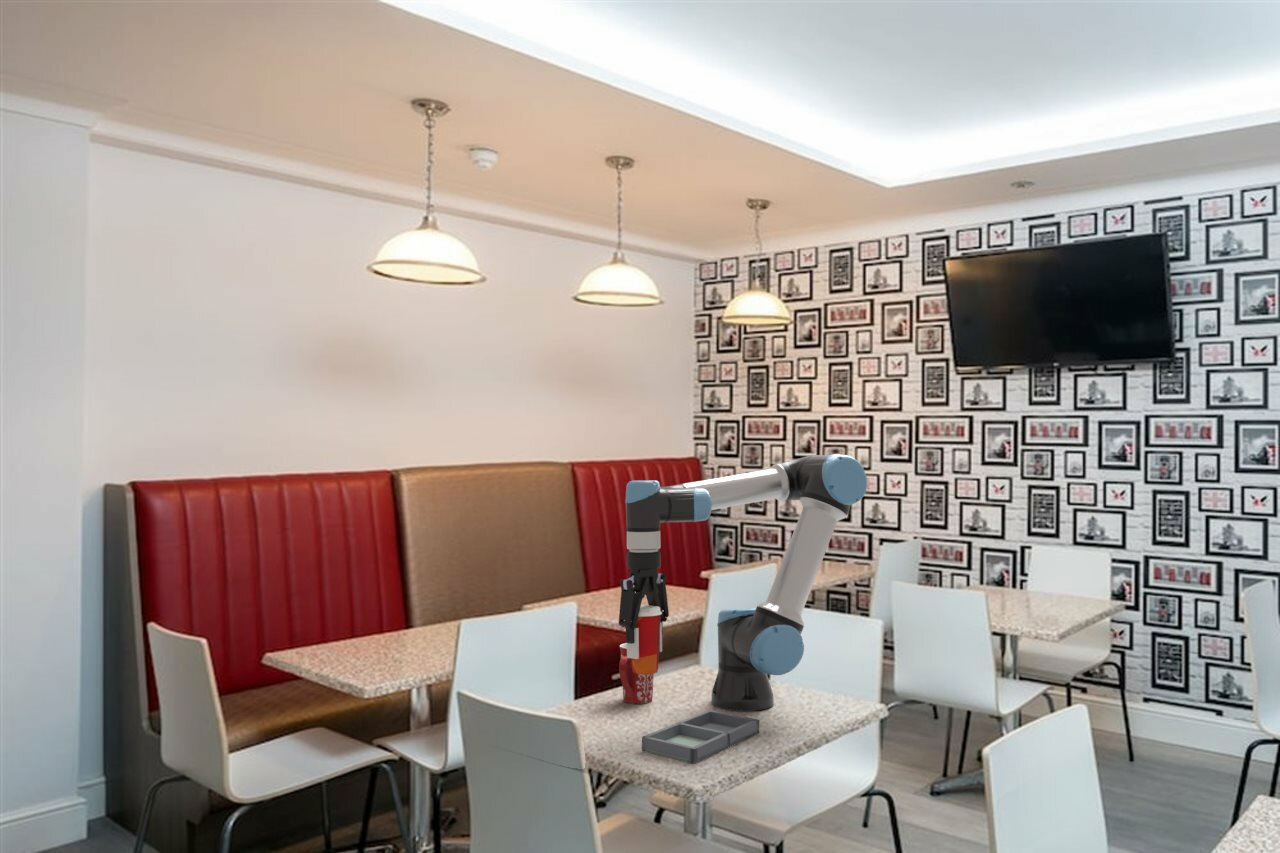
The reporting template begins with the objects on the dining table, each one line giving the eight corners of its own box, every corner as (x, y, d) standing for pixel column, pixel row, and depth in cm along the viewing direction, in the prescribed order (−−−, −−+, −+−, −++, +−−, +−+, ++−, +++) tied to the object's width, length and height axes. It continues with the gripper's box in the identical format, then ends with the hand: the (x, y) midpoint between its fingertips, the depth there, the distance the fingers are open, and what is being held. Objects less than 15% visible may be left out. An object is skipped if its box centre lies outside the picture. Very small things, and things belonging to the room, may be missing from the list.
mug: (631, 693, 226) (631, 640, 227) (662, 698, 221) (662, 643, 222) (604, 705, 215) (604, 649, 216) (636, 710, 210) (636, 653, 211)
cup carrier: (709, 722, 200) (709, 709, 201) (759, 732, 192) (759, 719, 193) (641, 750, 181) (641, 736, 181) (694, 763, 173) (694, 749, 173)
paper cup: (639, 666, 200) (638, 603, 200) (668, 669, 196) (668, 606, 196) (620, 673, 193) (620, 608, 193) (651, 677, 189) (650, 611, 190)
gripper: (657, 545, 206) (659, 644, 205) (600, 553, 189) (601, 661, 189) (684, 547, 201) (685, 648, 200) (627, 555, 185) (629, 665, 184)
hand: (644, 654), depth 194 cm, fingers closed on paper cup, 8 cm apart
